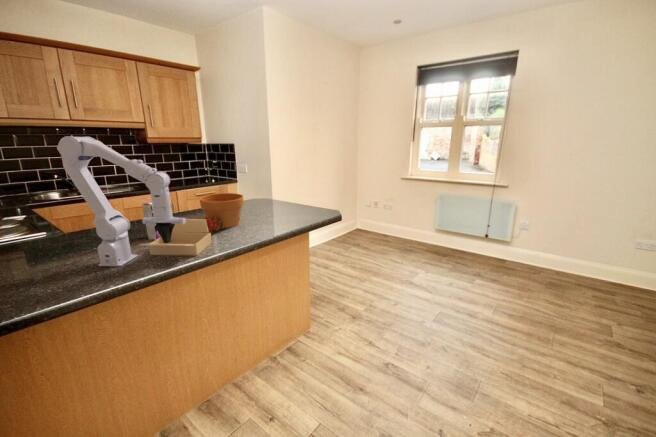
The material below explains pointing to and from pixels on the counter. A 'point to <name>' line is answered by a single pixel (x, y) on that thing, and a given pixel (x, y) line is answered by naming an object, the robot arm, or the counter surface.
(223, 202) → the flower pot
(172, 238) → the carton
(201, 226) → the far flap
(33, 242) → the counter surface
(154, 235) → the candy bar box
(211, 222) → the dragon fruit
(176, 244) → the near flap
